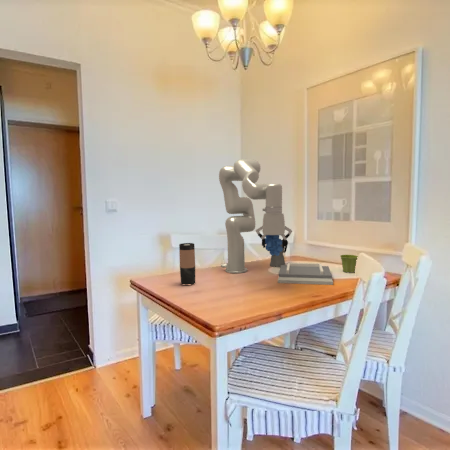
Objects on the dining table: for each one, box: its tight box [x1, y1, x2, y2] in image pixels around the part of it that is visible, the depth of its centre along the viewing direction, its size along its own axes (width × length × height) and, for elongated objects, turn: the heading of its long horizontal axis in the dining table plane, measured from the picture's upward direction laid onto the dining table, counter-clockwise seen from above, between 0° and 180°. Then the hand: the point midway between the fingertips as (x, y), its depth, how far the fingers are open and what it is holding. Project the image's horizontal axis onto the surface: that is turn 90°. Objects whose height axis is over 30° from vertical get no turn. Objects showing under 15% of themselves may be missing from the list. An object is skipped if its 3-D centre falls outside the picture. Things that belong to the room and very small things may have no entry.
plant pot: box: [339, 254, 359, 273], centre depth 187 cm, size 9×9×9 cm
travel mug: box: [178, 242, 196, 285], centre depth 169 cm, size 8×8×20 cm
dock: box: [277, 262, 334, 286], centre depth 178 cm, size 26×28×5 cm
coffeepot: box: [269, 239, 289, 268], centre depth 207 cm, size 15×9×18 cm, turn 126°
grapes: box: [264, 235, 283, 256], centre depth 161 cm, size 12×7×12 cm, turn 39°
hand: (273, 247), depth 159 cm, fingers closed on grapes, 8 cm apart
